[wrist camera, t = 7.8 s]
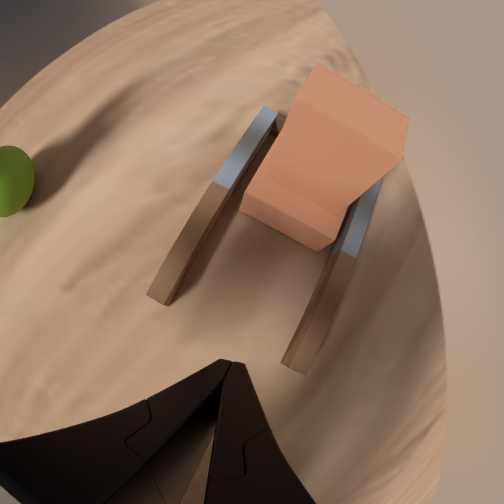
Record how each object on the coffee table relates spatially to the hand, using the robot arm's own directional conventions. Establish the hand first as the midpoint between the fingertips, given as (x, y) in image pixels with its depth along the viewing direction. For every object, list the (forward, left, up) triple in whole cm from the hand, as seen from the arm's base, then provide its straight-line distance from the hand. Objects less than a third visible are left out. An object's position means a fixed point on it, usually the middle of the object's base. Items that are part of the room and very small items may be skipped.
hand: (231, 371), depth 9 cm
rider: (+10, -5, -9) cm, 14 cm away
